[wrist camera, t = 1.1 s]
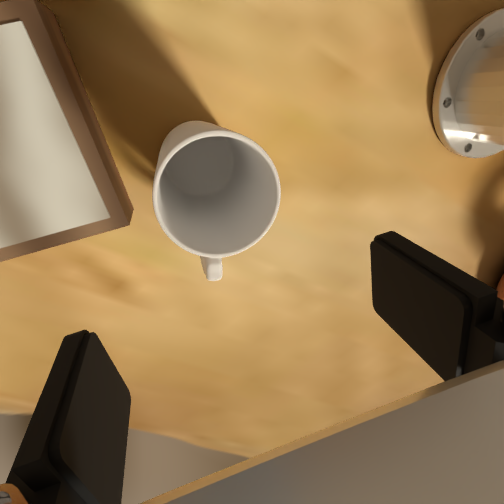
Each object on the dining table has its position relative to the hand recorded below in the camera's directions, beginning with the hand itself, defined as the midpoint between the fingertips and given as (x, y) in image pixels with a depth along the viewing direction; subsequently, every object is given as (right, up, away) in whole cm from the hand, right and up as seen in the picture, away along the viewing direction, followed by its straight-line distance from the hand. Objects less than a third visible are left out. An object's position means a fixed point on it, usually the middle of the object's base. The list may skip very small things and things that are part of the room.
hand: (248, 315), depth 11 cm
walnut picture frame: (-17, +10, +13) cm, 24 cm away
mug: (-5, +8, +18) cm, 20 cm away
